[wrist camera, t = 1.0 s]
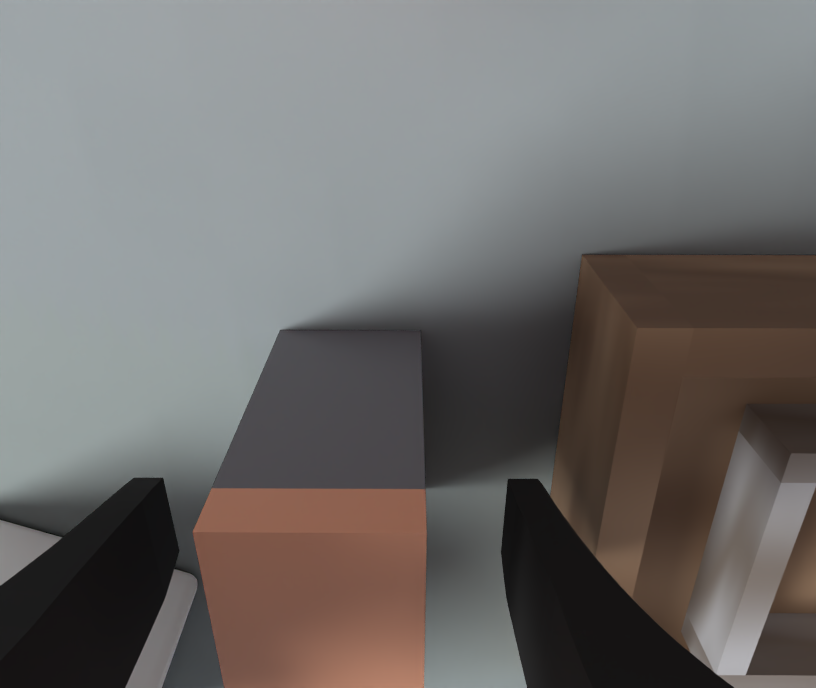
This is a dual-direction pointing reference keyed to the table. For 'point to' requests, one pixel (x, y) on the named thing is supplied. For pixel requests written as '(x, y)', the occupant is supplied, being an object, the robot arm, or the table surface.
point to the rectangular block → (322, 519)
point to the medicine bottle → (18, 546)
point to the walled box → (700, 451)
